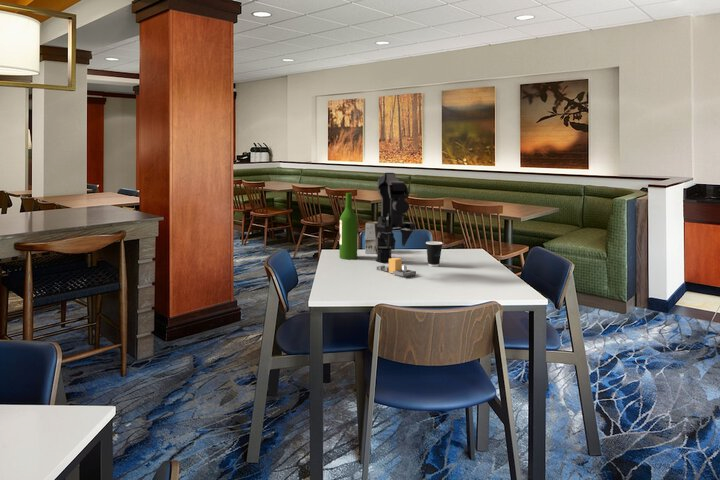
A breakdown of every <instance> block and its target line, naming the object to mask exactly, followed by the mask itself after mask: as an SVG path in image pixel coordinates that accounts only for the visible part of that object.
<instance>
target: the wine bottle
mask: <svg viewBox="0 0 720 480" xmlns="http://www.w3.org/2000/svg"><path fill="white" fill-rule="evenodd" d="M358 224H359V223H358V217H357V215H356V213H355V211H354V210H353V193H352V192H346V193H345V208H344V210H343V212H342V214H341V215H340V217H339V256H338V257H339V259H341V260H355V259H357V258H358V230H359V229H358Z"/></svg>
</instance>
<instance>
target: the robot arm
mask: <svg viewBox="0 0 720 480" xmlns="http://www.w3.org/2000/svg"><path fill="white" fill-rule="evenodd" d="M376 189H377V193H378V195H379V196H380V198H381V208H380V210H381V211H380V212H381V213H380V216H378V217H377V222H378V224H380V225H378V226H377V232H379V233H378V237H377V239H376V244H375V246H376V249H377V250H378V252H377V253H376V255H377V257H376V259H375V262H379V263H383V264H387V263H389V259H391V258H392V250H395V247H396V241H397V240H396V238H395V236H394V235H395V234H394V232H393V231H395V230H399V231H400V233H401V246H402V247H405V246H406V244H407V242H408V240H409V238H410V237H411V235H412V232H414V230H416V224H415V222H408V221H405V222H404V217H406V213H407V212H408V211H409V209H410V205H409V203H408V201H406V200H405V199H409V196H410V194H409V193H410V192H409V189H408V186H407V184H406V182H405V181H401V180H399V179H398V177H397V176H396V173H395V172H384V173H383V175H381V176H380V177H379V178H378V180H377V182H376Z"/></svg>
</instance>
